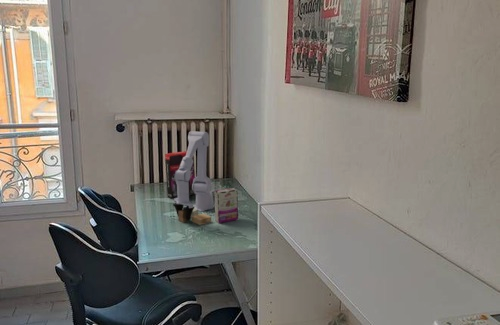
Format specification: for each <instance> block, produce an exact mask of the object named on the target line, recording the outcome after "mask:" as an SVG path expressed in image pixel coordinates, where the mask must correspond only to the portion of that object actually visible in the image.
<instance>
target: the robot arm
mask: <svg viewBox="0 0 500 325" xmlns="http://www.w3.org/2000/svg"><path fill="white" fill-rule="evenodd" d="M187 141H188V146H187V150H186V151H187V153H186V156H185V157H183V159H182V162H181V164H180V167H179V170H177V171H176V172H175V176H174V177H175V180H176V184H177V195H178V198H174V199H173V204H172V205H173V207H174V209H175V212H176V214H177V216H178V211H179V210H184V212H185V218H186V220H191V219H192V218H191V214H192V211H193V209H198V212H204V211H207V210H212V209H215V206H214V194H213V193H212V188H213V185H212V179H211V178H209V177H208V176H207V162H208V161H207V155H208V154H207V153H208V147H209V144H210V135H209V133H208V131H195V130H194V131H193V130H191V131H189V132H188V135H187ZM196 151H197V158H196V160H197V162H196V163H197V164H196V166H197V167H196V168H197V169H196V171H197V172H196V176H195V178H194V179H193V184H192V190H193V192H194V193H195V194H194V195H195V206H194V203H192V202H191V201H190V195H189V185H188V181H189V179H190V176H191V171H190V170H191V167H192V164H193V159H192V158H193V156H194V157H195V153H196ZM184 206H185V207H184Z"/></svg>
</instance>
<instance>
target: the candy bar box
mask: <svg viewBox="0 0 500 325" xmlns="http://www.w3.org/2000/svg"><path fill="white" fill-rule="evenodd" d="M238 194H239V192H238V189H237V188H235V187H229V188H224V189H217V190H216V189H215V190H214V214H215V215H214V216H215V217H214V218H215V220H214V221H215V223H216V222H217V223H218V224H223V223H229V222H234V221H238V220H239V208H238V207H239V206H238V205H239V202H238V198H239V197H238Z"/></svg>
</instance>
